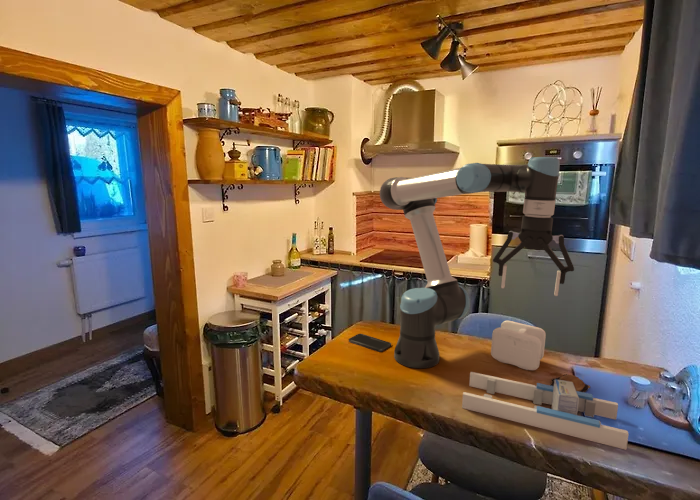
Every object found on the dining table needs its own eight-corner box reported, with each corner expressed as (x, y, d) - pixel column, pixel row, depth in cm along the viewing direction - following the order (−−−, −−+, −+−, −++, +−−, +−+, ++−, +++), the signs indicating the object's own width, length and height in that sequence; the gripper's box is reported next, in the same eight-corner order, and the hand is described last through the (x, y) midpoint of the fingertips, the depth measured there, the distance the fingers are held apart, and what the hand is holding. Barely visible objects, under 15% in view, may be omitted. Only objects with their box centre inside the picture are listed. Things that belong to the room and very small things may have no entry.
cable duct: (461, 408, 100) (462, 392, 99) (470, 383, 113) (471, 368, 112) (626, 451, 85) (629, 432, 84) (615, 416, 97) (617, 399, 96)
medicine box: (575, 430, 92) (579, 397, 90) (555, 426, 93) (558, 393, 92) (569, 412, 99) (573, 381, 98) (550, 408, 101) (554, 378, 99)
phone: (380, 350, 133) (347, 339, 142) (380, 353, 133) (347, 342, 142) (392, 343, 139) (359, 332, 148) (392, 346, 139) (359, 335, 148)
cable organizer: (545, 362, 126) (549, 329, 124) (536, 374, 118) (540, 339, 116) (500, 349, 136) (503, 318, 134) (489, 359, 128) (491, 327, 126)
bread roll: (564, 377, 118) (566, 366, 117) (593, 390, 111) (594, 378, 110) (544, 386, 112) (545, 375, 112) (573, 400, 105) (574, 388, 105)
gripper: (487, 213, 105) (480, 287, 109) (593, 220, 94) (581, 302, 98) (490, 211, 111) (484, 281, 116) (590, 217, 100) (578, 294, 105)
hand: (528, 290), depth 107 cm, fingers open, 13 cm apart
